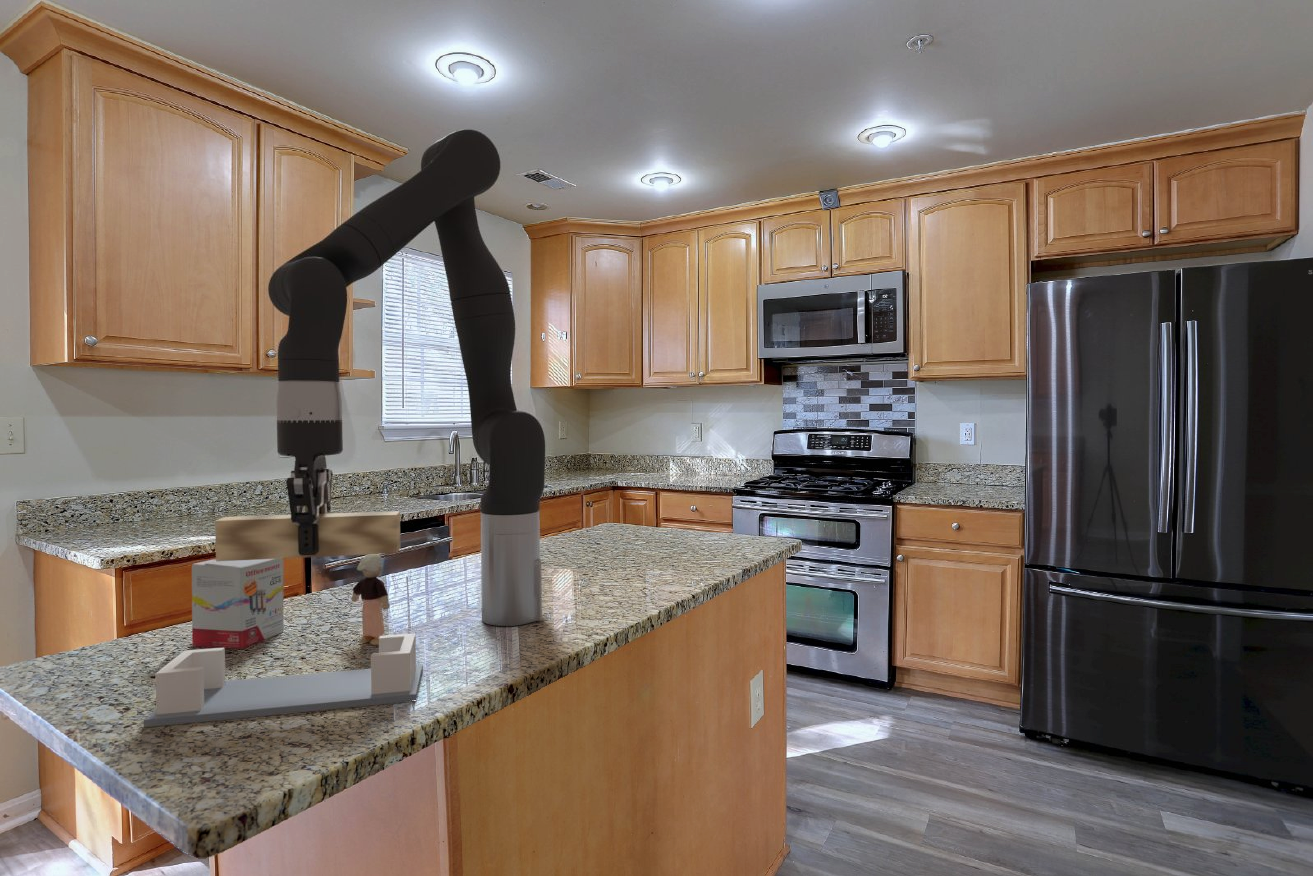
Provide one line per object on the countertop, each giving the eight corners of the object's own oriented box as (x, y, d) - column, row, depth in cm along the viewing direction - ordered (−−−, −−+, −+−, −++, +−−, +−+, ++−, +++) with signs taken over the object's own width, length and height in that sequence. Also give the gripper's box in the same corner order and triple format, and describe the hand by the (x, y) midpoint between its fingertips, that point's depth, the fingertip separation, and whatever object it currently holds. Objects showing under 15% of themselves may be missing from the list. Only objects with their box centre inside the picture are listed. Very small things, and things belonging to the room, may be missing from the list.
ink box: (242, 650, 98) (240, 565, 97) (190, 646, 100) (188, 563, 99) (286, 631, 106) (285, 553, 106) (237, 628, 108) (236, 551, 108)
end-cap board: (422, 670, 90) (422, 630, 90) (415, 701, 80) (415, 655, 80) (182, 691, 83) (181, 647, 83) (143, 727, 73) (142, 678, 73)
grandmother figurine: (403, 639, 102) (401, 552, 102) (385, 647, 99) (383, 557, 98) (360, 634, 105) (359, 549, 104) (341, 641, 101) (339, 554, 101)
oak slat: (400, 548, 95) (399, 511, 94) (397, 553, 91) (396, 514, 91) (226, 555, 90) (225, 516, 89) (216, 561, 86) (215, 520, 86)
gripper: (329, 417, 84) (332, 561, 84) (351, 417, 98) (353, 540, 98) (260, 418, 82) (263, 564, 83) (292, 417, 96) (295, 543, 96)
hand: (312, 551), depth 90 cm, fingers closed on oak slat, 3 cm apart
